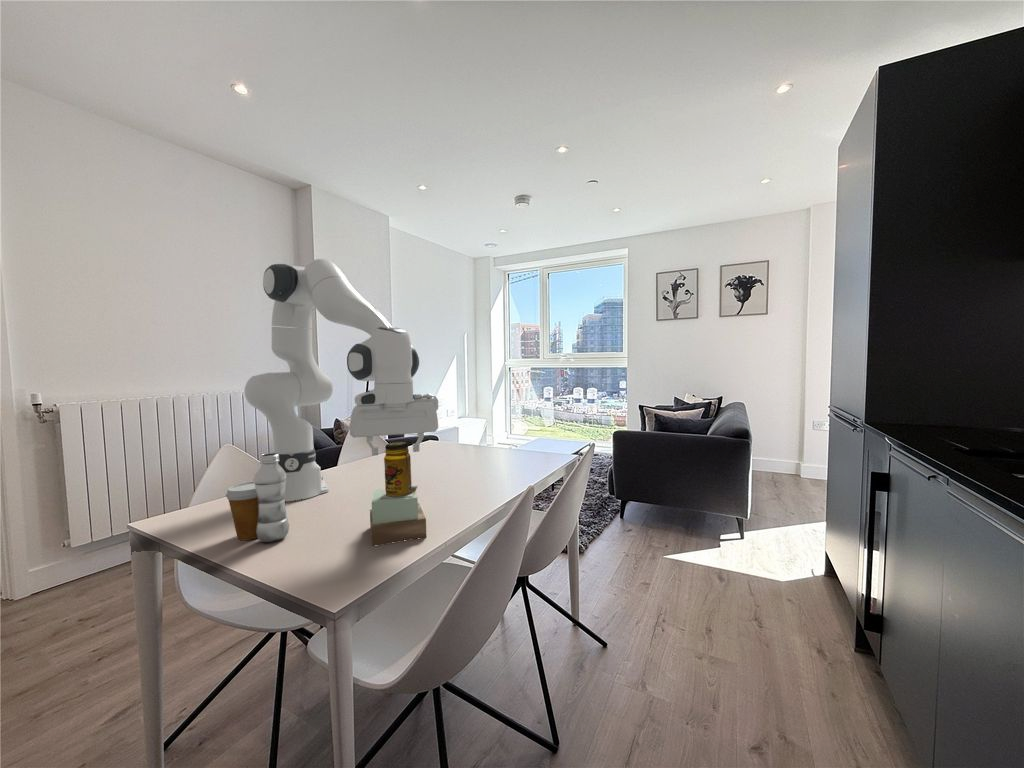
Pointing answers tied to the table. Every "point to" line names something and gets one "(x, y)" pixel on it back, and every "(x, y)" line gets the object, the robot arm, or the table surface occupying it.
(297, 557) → the table surface
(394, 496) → the condiment
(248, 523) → the disposable coffee cup
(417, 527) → the base block
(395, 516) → the top block
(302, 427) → the robot arm
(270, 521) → the plastic bottle
